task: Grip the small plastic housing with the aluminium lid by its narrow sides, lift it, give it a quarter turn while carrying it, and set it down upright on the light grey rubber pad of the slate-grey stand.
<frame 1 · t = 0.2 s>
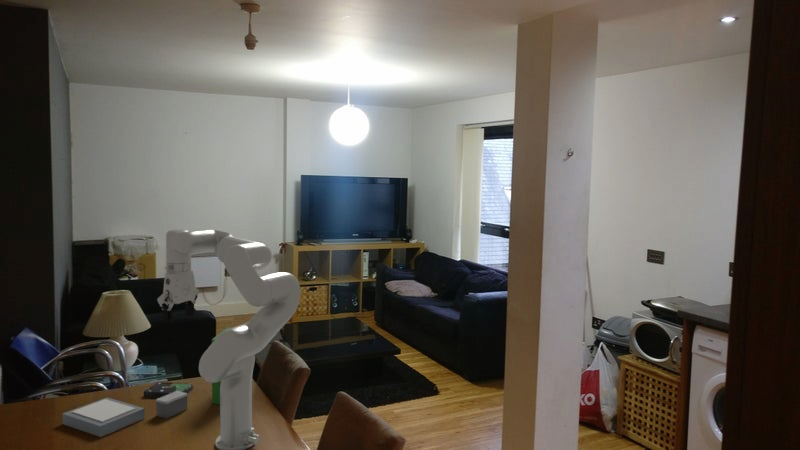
hand: (179, 318, 181), 36 cm above the table, tool pointing down, fingers open, 9 cm apart
stand: (104, 421, 186), on the table
disk drive: (168, 394, 212), on the table
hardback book: (230, 395, 210), on the table
housing: (172, 412, 194), on the table
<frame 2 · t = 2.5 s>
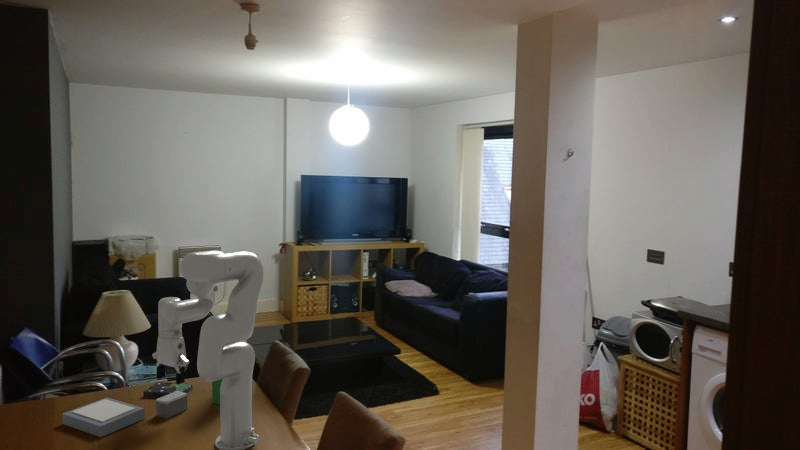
hand: (170, 380, 193), 11 cm above the table, tool pointing down, fingers open, 9 cm apart
nothing on the table moved.
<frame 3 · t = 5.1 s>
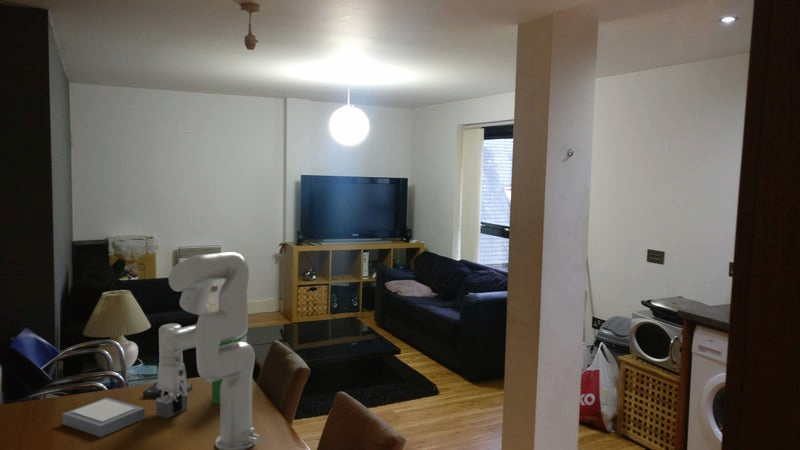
hand: (172, 409, 194), 1 cm above the table, tool pointing down, fingers closed on housing, 5 cm apart
housing: (172, 412, 194), on the table, touching gripper
everything else where it was.
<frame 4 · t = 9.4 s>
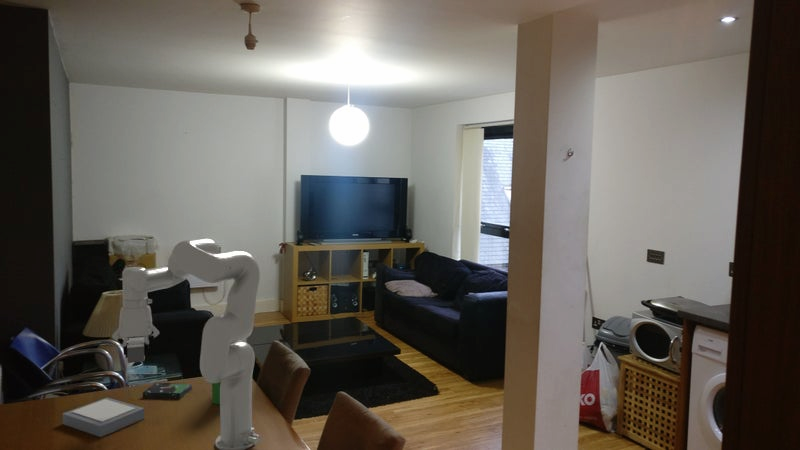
hand: (136, 355, 188), 22 cm above the table, tool pointing down, fingers closed on housing, 5 cm apart
housing: (136, 358, 188), point 21 cm above the table, touching gripper
everything else where it was.
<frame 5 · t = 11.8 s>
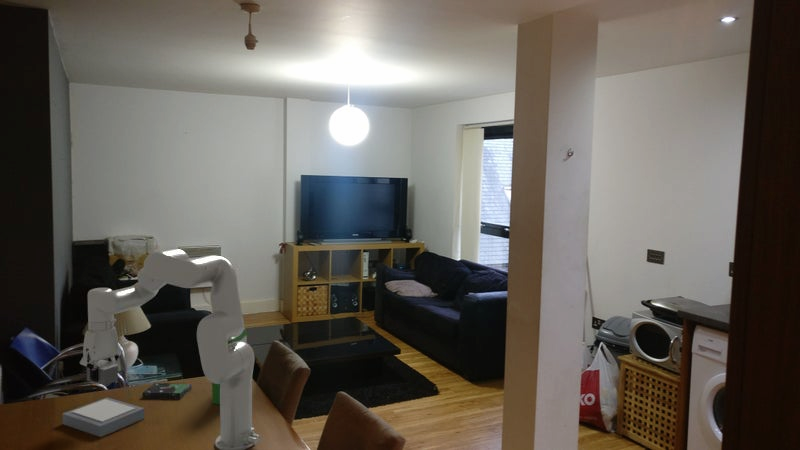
hand: (102, 377, 185), 15 cm above the table, tool pointing down, fingers closed on housing, 5 cm apart
housing: (102, 380, 185), point 14 cm above the table, touching gripper
everything else where it was.
when the fingers open (6 cm above the table, at t = 13.8 s): housing stays where it is, resting on stand.
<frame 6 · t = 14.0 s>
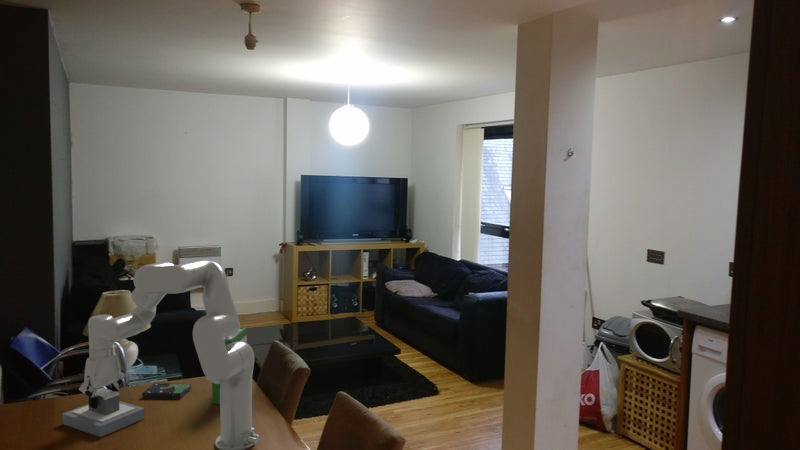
hand: (103, 403, 185), 6 cm above the table, tool pointing down, fingers open, 6 cm apart
housing: (104, 409, 186), point 4 cm above the table, touching stand
everything else where it was.
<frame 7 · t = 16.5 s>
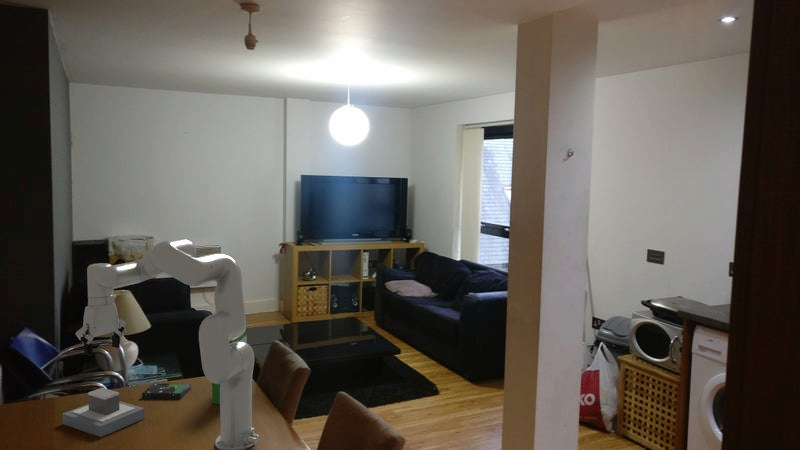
hand: (102, 351, 184), 24 cm above the table, tool pointing down, fingers open, 9 cm apart
nothing on the table moved.
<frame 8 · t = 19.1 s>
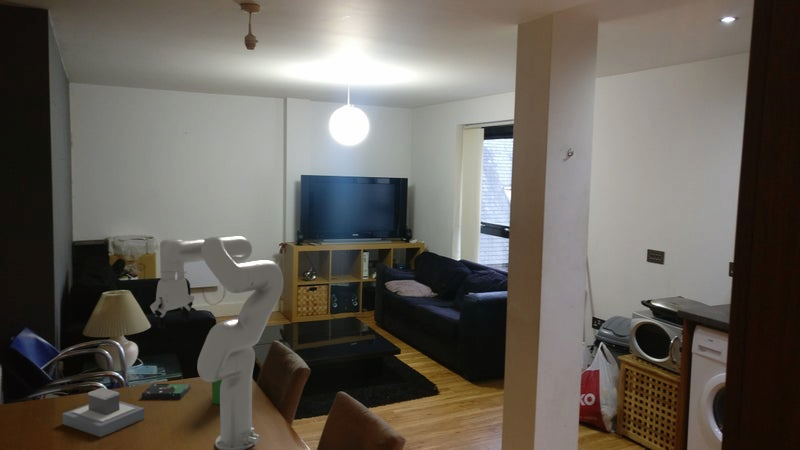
hand: (173, 325, 188), 32 cm above the table, tool pointing down, fingers open, 9 cm apart
at the end: housing inside the target area on the stand (0.1 cm from its centre), point 4.0 cm above the stand's base; housing tilted 0°; the gripper is holding nothing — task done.
